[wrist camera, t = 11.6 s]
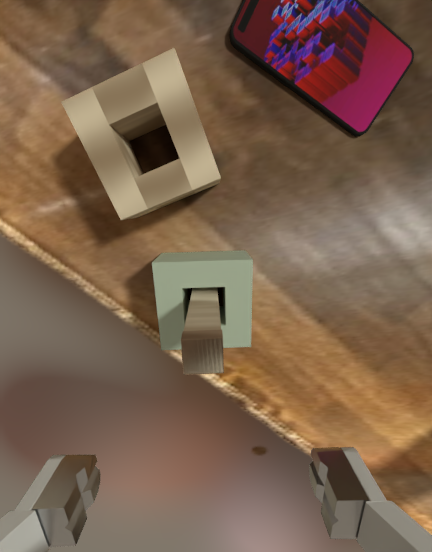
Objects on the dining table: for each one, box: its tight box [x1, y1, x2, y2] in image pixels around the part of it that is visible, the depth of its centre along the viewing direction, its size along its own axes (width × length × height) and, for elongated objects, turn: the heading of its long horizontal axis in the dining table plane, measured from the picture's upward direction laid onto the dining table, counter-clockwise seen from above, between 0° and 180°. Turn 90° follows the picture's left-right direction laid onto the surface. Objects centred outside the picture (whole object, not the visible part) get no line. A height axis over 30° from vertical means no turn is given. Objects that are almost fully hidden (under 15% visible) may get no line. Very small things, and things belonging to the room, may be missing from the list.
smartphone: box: [230, 0, 414, 136], centre depth 20 cm, size 8×1×15 cm
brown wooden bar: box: [181, 287, 224, 375], centre depth 20 cm, size 3×3×12 cm
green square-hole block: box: [152, 250, 253, 350], centre depth 24 cm, size 9×9×4 cm
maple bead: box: [62, 48, 221, 220], centre depth 20 cm, size 9×9×4 cm
